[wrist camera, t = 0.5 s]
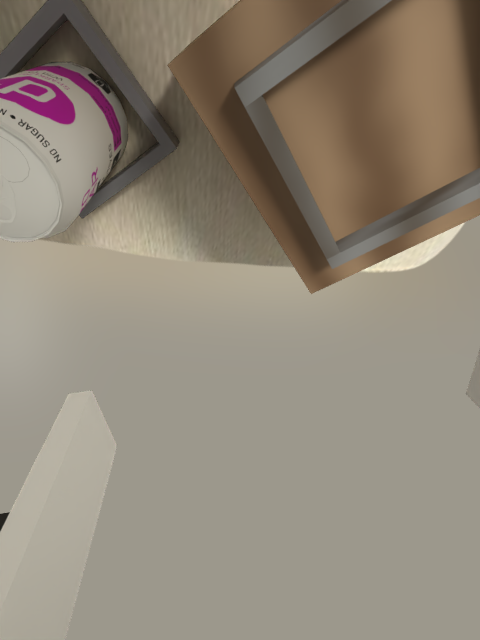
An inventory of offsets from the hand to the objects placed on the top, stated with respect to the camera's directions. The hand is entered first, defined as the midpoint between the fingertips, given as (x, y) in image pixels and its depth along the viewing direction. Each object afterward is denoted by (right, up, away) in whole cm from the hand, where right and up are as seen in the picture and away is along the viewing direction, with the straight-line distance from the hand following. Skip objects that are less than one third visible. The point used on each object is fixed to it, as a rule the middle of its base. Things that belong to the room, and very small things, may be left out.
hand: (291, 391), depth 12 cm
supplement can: (-16, +20, +18) cm, 31 cm away
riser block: (+7, +22, +17) cm, 28 cm away
